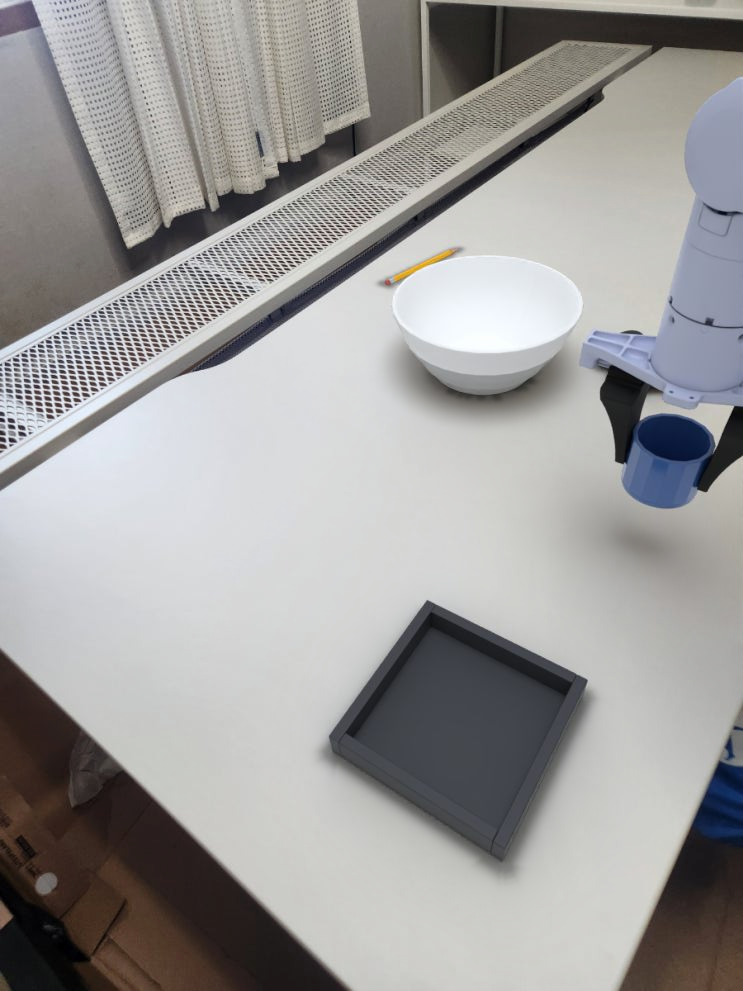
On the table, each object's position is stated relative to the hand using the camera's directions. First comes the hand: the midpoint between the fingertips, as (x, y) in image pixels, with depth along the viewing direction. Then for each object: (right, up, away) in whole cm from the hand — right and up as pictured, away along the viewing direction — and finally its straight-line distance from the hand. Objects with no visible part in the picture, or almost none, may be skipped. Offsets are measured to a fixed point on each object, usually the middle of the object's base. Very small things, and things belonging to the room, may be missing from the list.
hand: (662, 468), depth 50 cm
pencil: (-14, +29, +43) cm, 53 cm away
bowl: (-9, +12, +25) cm, 30 cm away
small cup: (0, -1, +1) cm, 2 cm away
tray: (-15, -18, -3) cm, 24 cm away
